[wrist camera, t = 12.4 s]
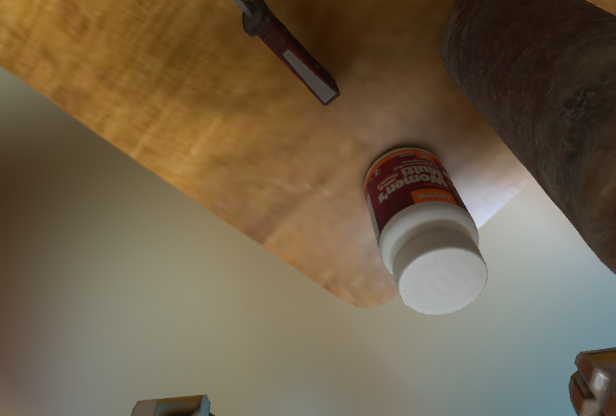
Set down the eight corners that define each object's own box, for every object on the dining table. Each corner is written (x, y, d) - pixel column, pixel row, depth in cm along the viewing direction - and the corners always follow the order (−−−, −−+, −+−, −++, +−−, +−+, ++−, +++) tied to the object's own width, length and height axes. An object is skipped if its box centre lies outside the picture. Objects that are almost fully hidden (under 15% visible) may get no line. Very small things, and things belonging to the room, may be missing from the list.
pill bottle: (429, 130, 35) (483, 222, 26) (453, 196, 38) (510, 299, 29) (349, 165, 36) (373, 265, 27) (379, 226, 40) (410, 334, 30)
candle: (521, 100, 34) (748, 310, 18) (420, 82, 33) (560, 288, 17) (573, -18, 30) (935, 110, 13) (460, -43, 29) (699, 64, 12)
